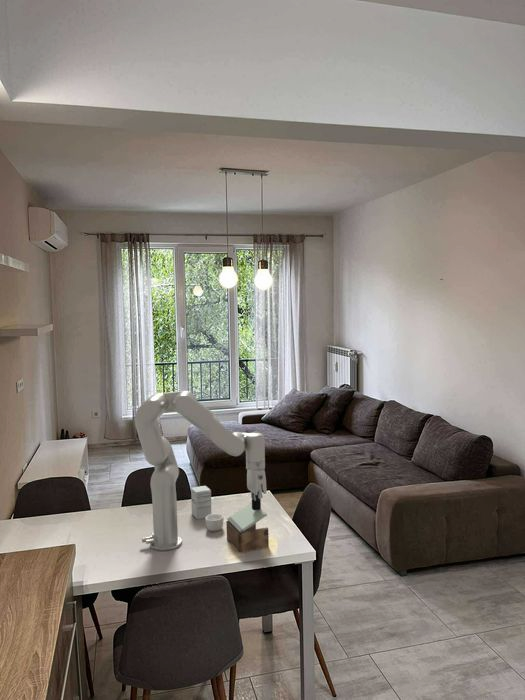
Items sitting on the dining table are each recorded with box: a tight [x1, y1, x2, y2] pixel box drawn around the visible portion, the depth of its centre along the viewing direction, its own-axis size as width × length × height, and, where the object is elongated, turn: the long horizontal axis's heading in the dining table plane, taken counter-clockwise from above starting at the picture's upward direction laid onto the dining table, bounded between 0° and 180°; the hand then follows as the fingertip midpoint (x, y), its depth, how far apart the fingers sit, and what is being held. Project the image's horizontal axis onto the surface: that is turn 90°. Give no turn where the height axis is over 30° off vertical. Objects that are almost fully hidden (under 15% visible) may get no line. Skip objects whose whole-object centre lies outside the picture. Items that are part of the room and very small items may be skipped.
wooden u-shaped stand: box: [225, 520, 270, 554], centre depth 220 cm, size 12×15×8 cm
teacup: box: [204, 513, 225, 532], centre depth 236 cm, size 10×8×5 cm
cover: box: [226, 502, 268, 533], centre depth 219 cm, size 12×14×1 cm
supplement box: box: [190, 485, 212, 520], centre depth 251 cm, size 7×7×13 cm
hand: (256, 509), depth 220 cm, fingers closed
